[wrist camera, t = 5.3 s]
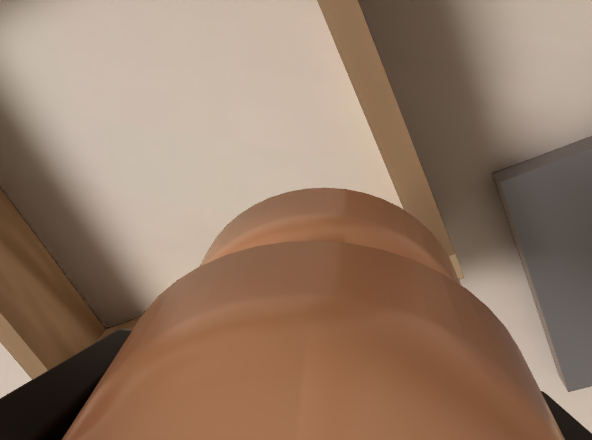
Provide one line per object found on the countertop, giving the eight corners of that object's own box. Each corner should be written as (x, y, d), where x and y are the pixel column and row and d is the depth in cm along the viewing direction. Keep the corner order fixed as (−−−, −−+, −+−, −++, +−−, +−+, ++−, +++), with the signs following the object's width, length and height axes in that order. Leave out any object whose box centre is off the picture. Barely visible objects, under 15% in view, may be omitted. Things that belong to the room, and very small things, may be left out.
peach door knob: (360, 97, 8) (399, 329, 2) (538, 340, 10) (815, 824, 4) (120, 279, 10) (-177, 645, 4) (301, 455, 12) (260, 884, 6)
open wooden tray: (242, -290, 14) (205, -395, 10) (442, 227, 20) (464, 277, 16) (-163, 3, 18) (-288, 3, 15) (101, 350, 24) (58, 410, 21)
